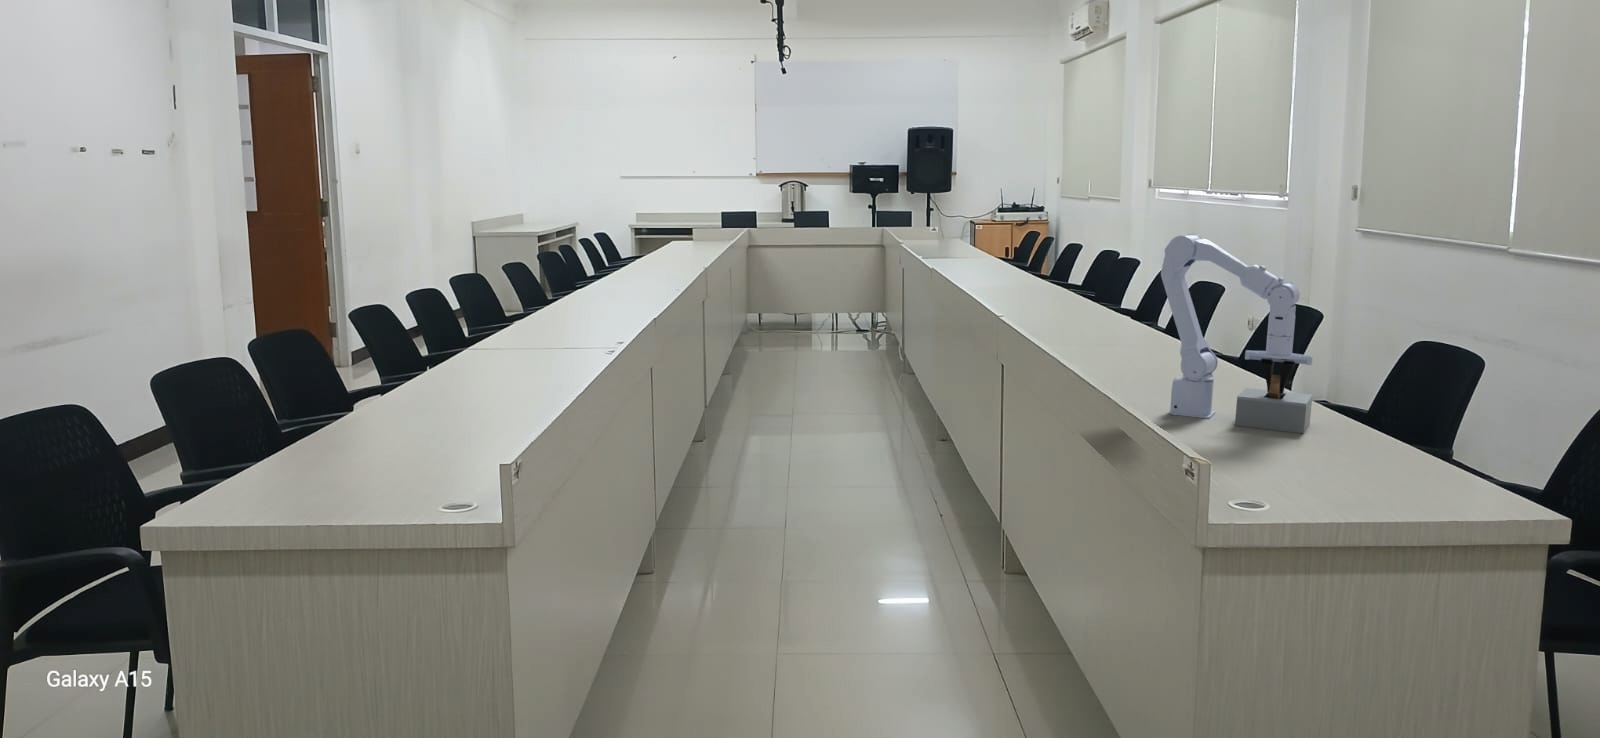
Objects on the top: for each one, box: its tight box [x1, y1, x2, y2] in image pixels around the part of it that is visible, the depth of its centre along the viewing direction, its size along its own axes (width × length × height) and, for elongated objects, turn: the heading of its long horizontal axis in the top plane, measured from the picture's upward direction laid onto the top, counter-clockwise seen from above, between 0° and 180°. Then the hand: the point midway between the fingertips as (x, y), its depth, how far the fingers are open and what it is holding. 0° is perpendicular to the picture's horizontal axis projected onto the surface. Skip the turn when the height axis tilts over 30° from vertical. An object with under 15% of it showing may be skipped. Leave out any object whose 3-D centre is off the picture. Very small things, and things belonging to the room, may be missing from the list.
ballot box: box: [1234, 387, 1313, 434], centre depth 274 cm, size 15×12×7 cm
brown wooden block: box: [1269, 374, 1281, 399], centre depth 272 cm, size 2×5×5 cm
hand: (1275, 392), depth 273 cm, fingers closed on brown wooden block, 2 cm apart
